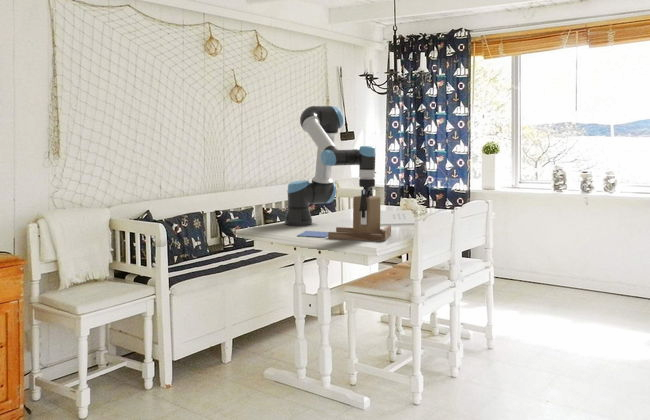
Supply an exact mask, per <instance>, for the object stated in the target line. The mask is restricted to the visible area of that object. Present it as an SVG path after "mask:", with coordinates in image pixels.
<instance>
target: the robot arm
mask: <svg viewBox="0 0 650 420" xmlns="http://www.w3.org/2000/svg"><path fill="white" fill-rule="evenodd" d="M299 124H300V126H301V128H302V129H303V131H304V132H305V133H308V135H309V136H310V138H311V139H312V141H313V143H315V145H316V148H317V152H316V161H315V162H316V163H315V173H314V176H313V177H312V178H311V182H310V181H309V180H305V179H304V180H303V179H302V180H295V181H292V182H289V183H288V186H287V190H286V192H287V212H286V214H285V218H284V224H285V225H287V226H295V227H296V226H297V227H298V226H309V225H312V224H313V218H312V215H311V211H310V205H317V204H319V205H320V204H322V205H323V204H330V203H332V202H333V201H334V199H335V198H336V193H337V189H336V188H337V187H336V186H337V185H336V184H335V182H334V180H333V179H332V177H331V175H332V167H335V166H359V167H358V168H359V170H358V171H359V172H358V173H359V176H358V177H359V178H360V179H359V180H358V181H359V183H358V184H359V185H358V186H359V188H363V189H361V193H360V194H361V195H360V196H361V202H360V209H359V211H361V224H363V225H367V211H366V208H367V203H366V199H367V197H370V196H374V194H373V188H374V187H375V186H376V179H375V178H376V174H377V171H376V147H375V146H373V145H361V146H360V147H359V149H358V148H356V149H338V148H337V146H336V145H335V139H336V138H335V137H336V135H337V134H338V133H339V129H341V128H343V125H344V115H343V112H342V110H341V109H340V108H339V107H338V106H331V105H311V106H309V107H306V108H305V109H304V110H303V111H302V112H301V115H300V117H299Z"/></svg>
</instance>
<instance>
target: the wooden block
mask: <svg viewBox="0 0 650 420" xmlns="http://www.w3.org/2000/svg"><path fill="white" fill-rule="evenodd" d="M381 200H382V199H381V196H379V195H373V196H370V197H367V199H366V203H367V208H366V211H367V225H363V224H361V211H359V209H360V202H361V195H357V196H353V198H352V228H353V233H365V234H380V229H381V207H382V205H381V203H382V201H381Z"/></svg>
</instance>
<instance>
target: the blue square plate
mask: <svg viewBox="0 0 650 420" xmlns="http://www.w3.org/2000/svg"><path fill="white" fill-rule="evenodd" d="M328 232H329V231H318V230H317V231H316V230H305V231H303V232H301V233H299V234H297V237H300V236H306V237H305V238H319V239H321V238H323V239H326V238H328Z"/></svg>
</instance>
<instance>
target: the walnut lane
mask: <svg viewBox="0 0 650 420" xmlns="http://www.w3.org/2000/svg"><path fill="white" fill-rule="evenodd" d="M327 232H328V236H327V239H333V240H351V241H352V240H353V241H354V240H355V241H373V242H375V241H376V242H386V241H387V240H388V239H389V238H390V237H392V225H387V226H386V227H384V228H382V229H381V228H380V234H365V233H353V227H345V226H344V227H343V226H342V227H341V226H339V227H338V226H336V228H335V231H327Z"/></svg>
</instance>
